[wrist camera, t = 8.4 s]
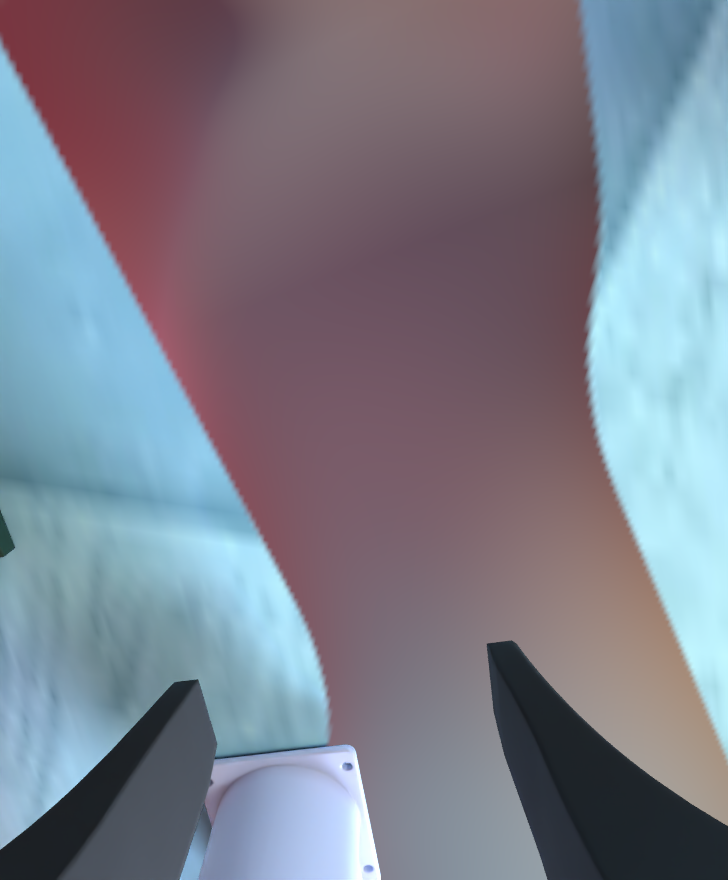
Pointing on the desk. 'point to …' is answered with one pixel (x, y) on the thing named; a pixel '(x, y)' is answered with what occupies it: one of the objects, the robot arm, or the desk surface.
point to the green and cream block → (5, 539)
